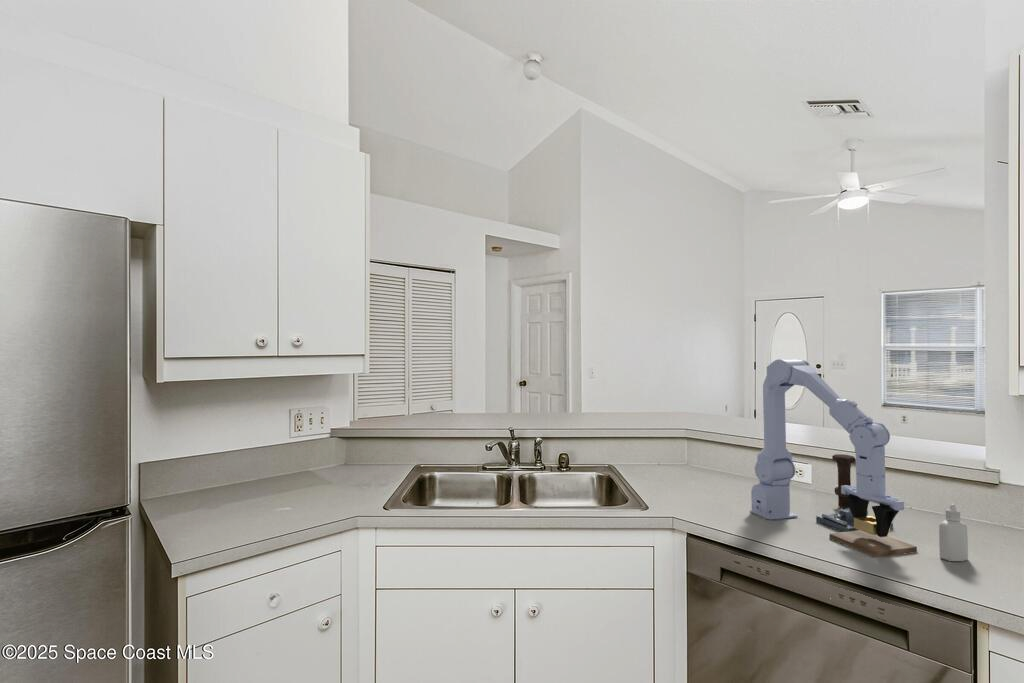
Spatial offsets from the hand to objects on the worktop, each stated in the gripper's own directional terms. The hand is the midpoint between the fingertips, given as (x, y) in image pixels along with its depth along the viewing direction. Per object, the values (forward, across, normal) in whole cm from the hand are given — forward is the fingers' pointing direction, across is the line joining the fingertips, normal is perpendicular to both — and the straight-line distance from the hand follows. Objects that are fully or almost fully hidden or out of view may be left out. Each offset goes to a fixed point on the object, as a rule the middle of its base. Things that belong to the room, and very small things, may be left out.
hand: (871, 532), depth 122 cm
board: (+3, 0, 0) cm, 3 cm away
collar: (0, 0, 0) cm, 0 cm away
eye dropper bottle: (+3, -11, -10) cm, 15 cm away
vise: (+3, +12, -8) cm, 15 cm away
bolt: (+3, +25, -19) cm, 32 cm away
